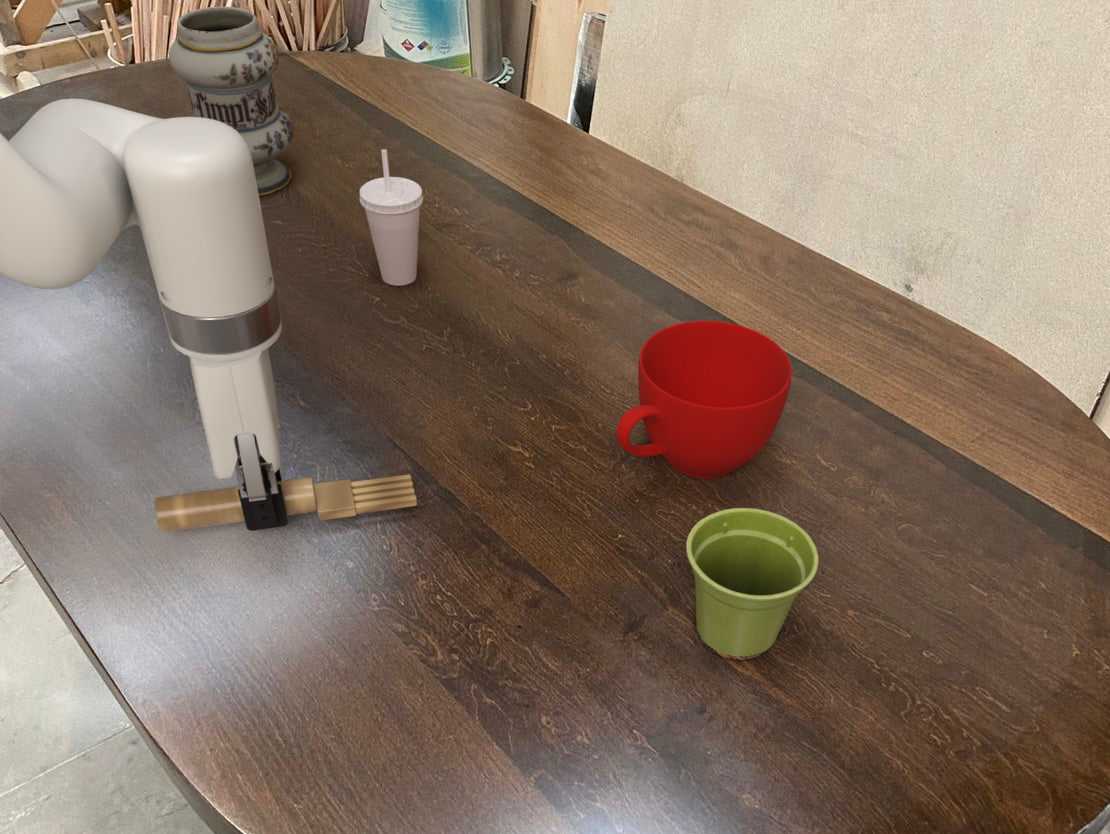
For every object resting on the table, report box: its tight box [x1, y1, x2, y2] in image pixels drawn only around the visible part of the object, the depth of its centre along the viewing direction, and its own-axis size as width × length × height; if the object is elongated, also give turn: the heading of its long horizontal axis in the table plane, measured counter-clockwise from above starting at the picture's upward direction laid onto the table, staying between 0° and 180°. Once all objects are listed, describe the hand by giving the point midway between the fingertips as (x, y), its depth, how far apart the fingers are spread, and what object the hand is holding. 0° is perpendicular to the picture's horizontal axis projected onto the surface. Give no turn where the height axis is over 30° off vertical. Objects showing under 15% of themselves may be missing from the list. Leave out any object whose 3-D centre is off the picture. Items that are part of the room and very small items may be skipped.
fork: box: [154, 473, 418, 533], centre depth 86 cm, size 20×4×3 cm, turn 106°
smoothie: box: [359, 148, 424, 287], centre depth 110 cm, size 6×6×14 cm
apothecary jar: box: [168, 6, 294, 197], centre depth 123 cm, size 12×12×18 cm
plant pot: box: [685, 507, 819, 657], centre depth 79 cm, size 9×9×9 cm
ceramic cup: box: [616, 320, 793, 480], centre depth 92 cm, size 13×17×10 cm
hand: (265, 510), depth 87 cm, fingers closed on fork, 2 cm apart
